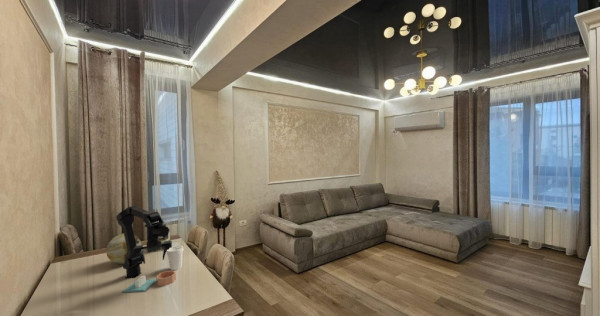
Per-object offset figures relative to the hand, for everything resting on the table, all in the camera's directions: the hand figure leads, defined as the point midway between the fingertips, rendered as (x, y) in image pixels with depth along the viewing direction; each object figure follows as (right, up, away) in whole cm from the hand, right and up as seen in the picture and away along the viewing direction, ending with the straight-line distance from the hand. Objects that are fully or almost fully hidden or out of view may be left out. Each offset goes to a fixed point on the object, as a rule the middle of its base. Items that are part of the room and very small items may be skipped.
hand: (153, 261), depth 142 cm
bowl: (+7, -12, 0) cm, 14 cm away
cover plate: (-5, -12, -4) cm, 13 cm away
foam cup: (+5, -12, +17) cm, 21 cm away
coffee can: (-24, -12, +54) cm, 60 cm away
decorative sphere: (-37, -13, +30) cm, 50 cm away
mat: (-5, -12, -4) cm, 14 cm away
